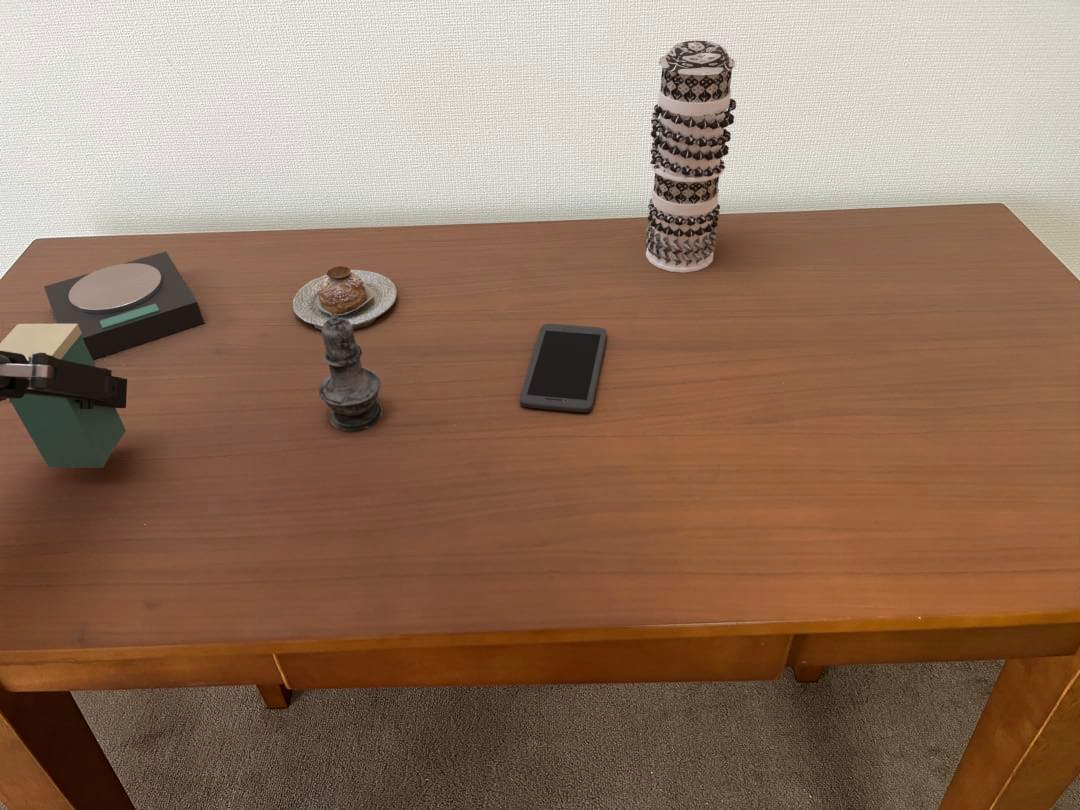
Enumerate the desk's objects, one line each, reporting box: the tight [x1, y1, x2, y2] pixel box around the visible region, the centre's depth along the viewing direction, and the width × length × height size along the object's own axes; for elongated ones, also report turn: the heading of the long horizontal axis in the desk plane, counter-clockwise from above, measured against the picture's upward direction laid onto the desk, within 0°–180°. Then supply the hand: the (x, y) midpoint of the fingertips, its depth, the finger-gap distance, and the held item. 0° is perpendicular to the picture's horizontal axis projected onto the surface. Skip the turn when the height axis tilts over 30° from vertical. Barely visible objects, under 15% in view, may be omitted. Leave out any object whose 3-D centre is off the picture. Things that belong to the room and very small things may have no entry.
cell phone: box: [519, 323, 607, 414], centre depth 85 cm, size 7×14×1 cm, turn 170°
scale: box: [43, 250, 205, 361], centre depth 95 cm, size 14×14×3 cm
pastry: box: [292, 265, 398, 331], centre depth 95 cm, size 12×12×5 cm
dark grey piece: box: [318, 312, 384, 433], centre depth 77 cm, size 6×6×12 cm
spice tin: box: [0, 323, 127, 469], centre depth 71 cm, size 5×5×12 cm
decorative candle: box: [645, 40, 737, 274], centre depth 95 cm, size 9×9×25 cm
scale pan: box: [69, 263, 162, 314], centre depth 95 cm, size 10×10×1 cm
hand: (92, 393), depth 76 cm, fingers closed on spice tin, 5 cm apart
